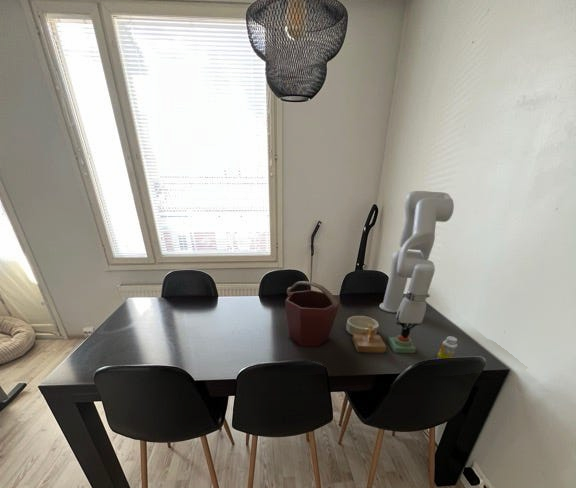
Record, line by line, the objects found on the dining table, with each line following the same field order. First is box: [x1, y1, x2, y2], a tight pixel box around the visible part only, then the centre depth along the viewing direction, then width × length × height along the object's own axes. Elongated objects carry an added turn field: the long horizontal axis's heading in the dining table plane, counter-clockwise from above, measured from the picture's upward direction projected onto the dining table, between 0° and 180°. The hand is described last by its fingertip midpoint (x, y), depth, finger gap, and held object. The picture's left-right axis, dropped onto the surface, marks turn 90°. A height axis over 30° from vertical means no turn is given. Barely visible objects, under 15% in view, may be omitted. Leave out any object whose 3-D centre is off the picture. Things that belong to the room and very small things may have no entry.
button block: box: [387, 334, 417, 354], centre depth 131 cm, size 10×9×4 cm
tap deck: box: [352, 334, 387, 354], centre depth 131 cm, size 13×12×3 cm
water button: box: [398, 333, 410, 342], centre depth 129 cm, size 4×4×2 cm
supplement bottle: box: [436, 336, 458, 359], centre depth 121 cm, size 6×6×10 cm
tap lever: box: [365, 324, 375, 342], centre depth 130 cm, size 8×2×5 cm, turn 1°
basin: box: [345, 315, 379, 336], centre depth 141 cm, size 15×15×5 cm
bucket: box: [284, 280, 340, 347], centre depth 129 cm, size 24×22×25 cm
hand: (404, 336), depth 128 cm, fingers closed
